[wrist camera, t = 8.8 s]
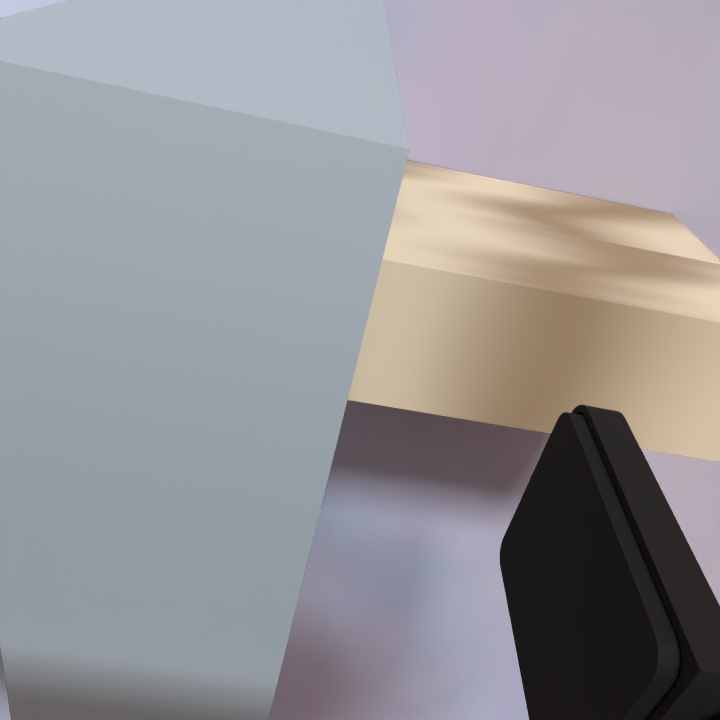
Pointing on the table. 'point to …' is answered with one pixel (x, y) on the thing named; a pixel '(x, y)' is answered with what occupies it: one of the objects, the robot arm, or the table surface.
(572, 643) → the robot arm
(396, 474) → the table surface
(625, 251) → the rail
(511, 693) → the table surface
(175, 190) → the flat gray plate
